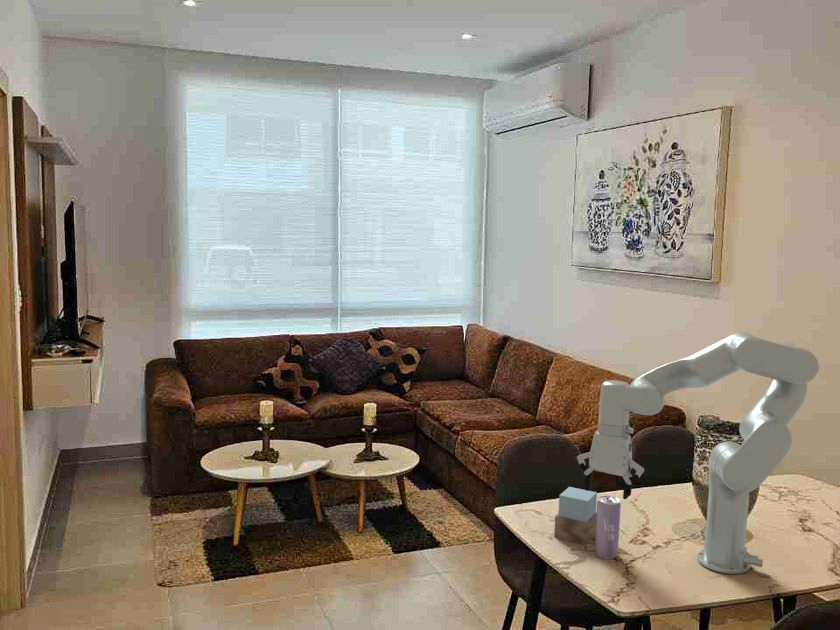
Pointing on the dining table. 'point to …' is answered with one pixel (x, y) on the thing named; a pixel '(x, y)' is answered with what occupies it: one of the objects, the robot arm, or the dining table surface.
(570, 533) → the base block
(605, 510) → the beverage can
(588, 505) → the top block
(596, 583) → the dining table surface
